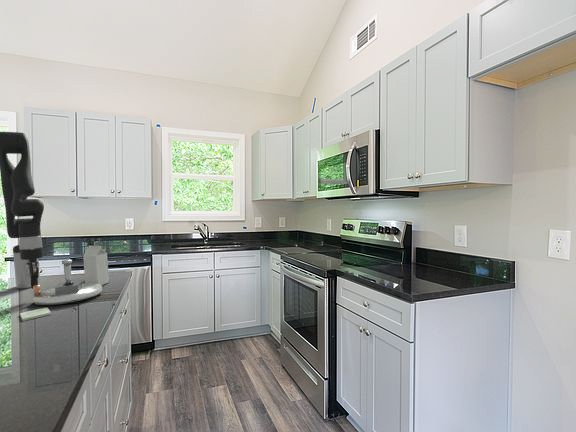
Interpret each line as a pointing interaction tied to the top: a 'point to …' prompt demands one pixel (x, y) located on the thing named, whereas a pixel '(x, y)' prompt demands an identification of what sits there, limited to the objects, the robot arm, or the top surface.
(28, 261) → the robot arm
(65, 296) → the light grey disc
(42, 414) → the top surface
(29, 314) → the pad
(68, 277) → the metal pin
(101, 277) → the milk carton
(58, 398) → the top surface
